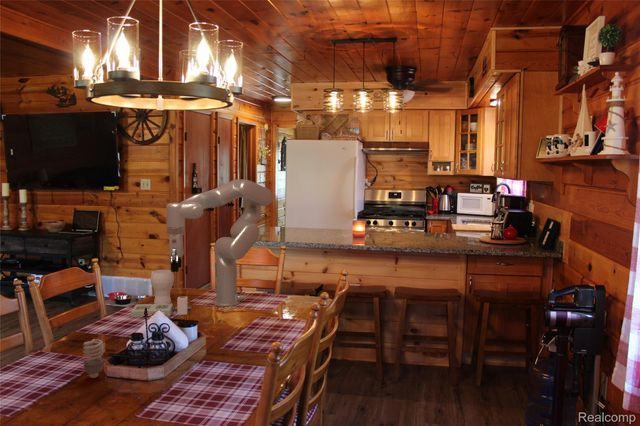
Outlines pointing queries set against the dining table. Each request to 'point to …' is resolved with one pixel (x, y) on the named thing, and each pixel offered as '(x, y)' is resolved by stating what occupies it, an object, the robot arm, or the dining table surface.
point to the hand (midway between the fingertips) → (176, 269)
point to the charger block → (182, 305)
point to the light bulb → (94, 363)
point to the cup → (162, 285)
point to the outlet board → (151, 309)
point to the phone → (188, 308)
